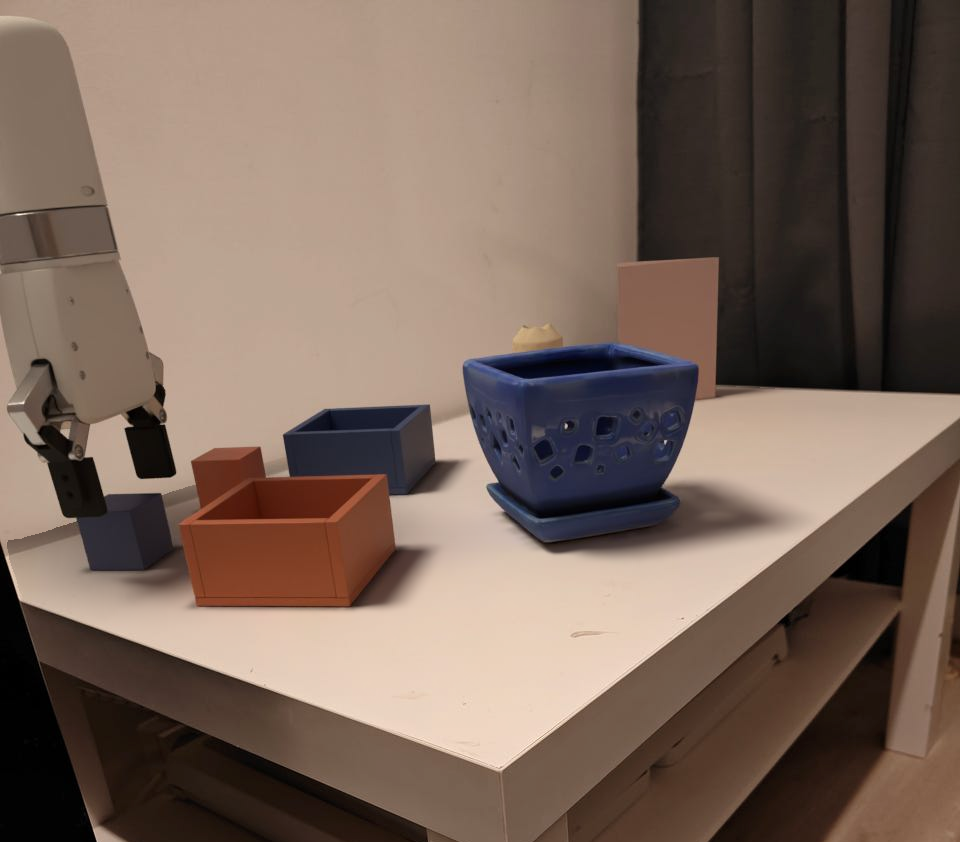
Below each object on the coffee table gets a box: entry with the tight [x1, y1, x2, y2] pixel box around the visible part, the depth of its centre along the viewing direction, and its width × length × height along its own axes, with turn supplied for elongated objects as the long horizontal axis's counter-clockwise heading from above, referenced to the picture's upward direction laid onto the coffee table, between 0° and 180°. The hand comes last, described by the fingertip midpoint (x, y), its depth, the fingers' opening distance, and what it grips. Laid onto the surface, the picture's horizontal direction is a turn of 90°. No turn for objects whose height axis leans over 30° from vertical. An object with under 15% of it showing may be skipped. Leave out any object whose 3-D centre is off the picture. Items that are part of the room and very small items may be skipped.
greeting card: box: [616, 256, 720, 400], centre depth 105 cm, size 11×7×15 cm, turn 65°
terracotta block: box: [190, 446, 267, 510], centre depth 82 cm, size 4×4×4 cm
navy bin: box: [282, 404, 437, 496], centre depth 86 cm, size 11×11×6 cm
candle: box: [511, 323, 564, 353], centre depth 103 cm, size 6×6×10 cm
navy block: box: [75, 492, 175, 571], centre depth 70 cm, size 4×4×4 cm
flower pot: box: [462, 342, 699, 544], centre depth 68 cm, size 13×13×12 cm
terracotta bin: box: [178, 474, 397, 607], centre depth 63 cm, size 11×11×6 cm
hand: (124, 495), depth 68 cm, fingers open, 9 cm apart
